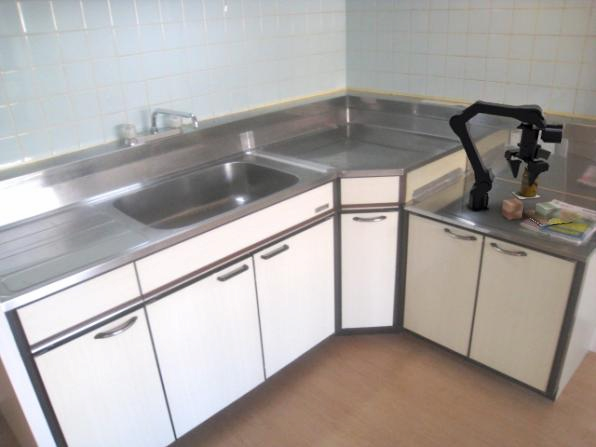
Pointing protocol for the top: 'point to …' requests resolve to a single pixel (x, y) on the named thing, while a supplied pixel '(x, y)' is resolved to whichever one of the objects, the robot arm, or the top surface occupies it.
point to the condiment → (527, 188)
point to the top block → (512, 209)
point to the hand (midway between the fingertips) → (522, 182)
